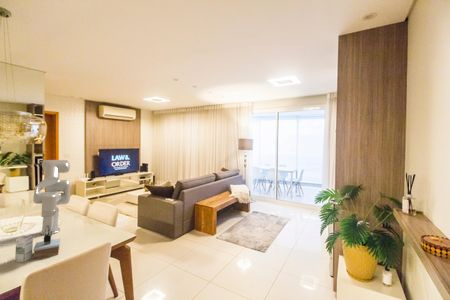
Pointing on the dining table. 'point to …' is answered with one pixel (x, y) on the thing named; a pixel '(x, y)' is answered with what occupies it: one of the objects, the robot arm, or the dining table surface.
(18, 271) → the dining table surface
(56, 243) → the lid
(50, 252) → the box
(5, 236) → the dining table surface
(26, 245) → the syrup box
